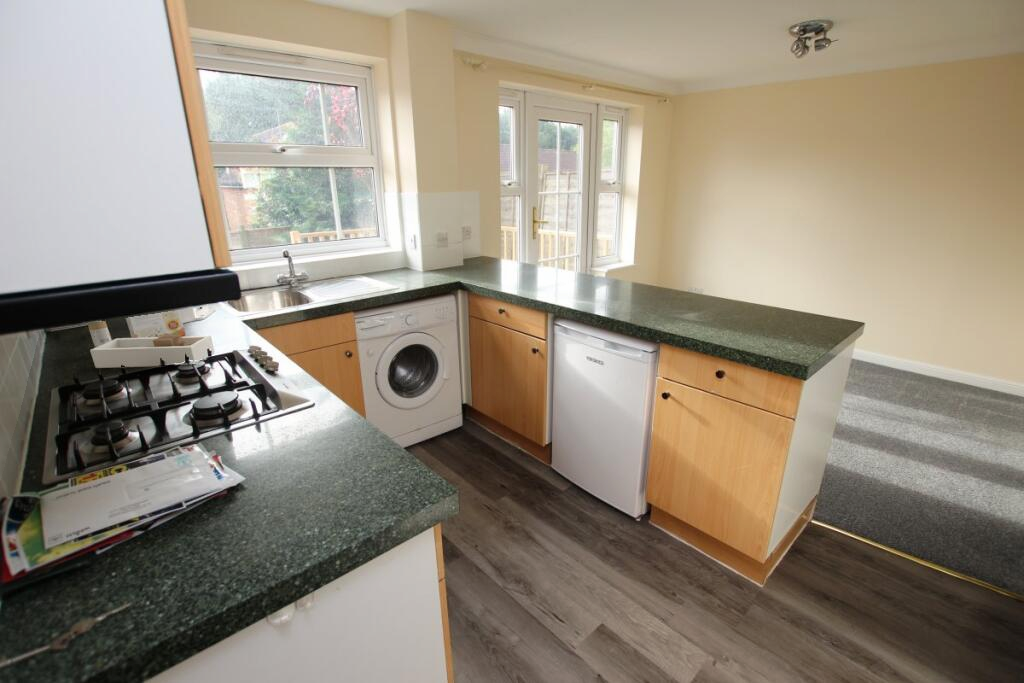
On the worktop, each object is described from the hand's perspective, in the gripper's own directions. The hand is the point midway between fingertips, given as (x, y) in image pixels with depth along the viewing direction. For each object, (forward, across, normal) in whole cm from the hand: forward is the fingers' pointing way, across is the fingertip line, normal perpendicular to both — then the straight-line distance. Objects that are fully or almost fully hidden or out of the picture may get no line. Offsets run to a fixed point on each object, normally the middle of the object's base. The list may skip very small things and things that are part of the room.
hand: (128, 296), depth 135 cm
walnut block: (+17, +7, 0) cm, 18 cm away
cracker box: (+20, -9, +20) cm, 30 cm away
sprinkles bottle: (+20, -17, +7) cm, 27 cm away
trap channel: (+20, +3, 0) cm, 20 cm away
